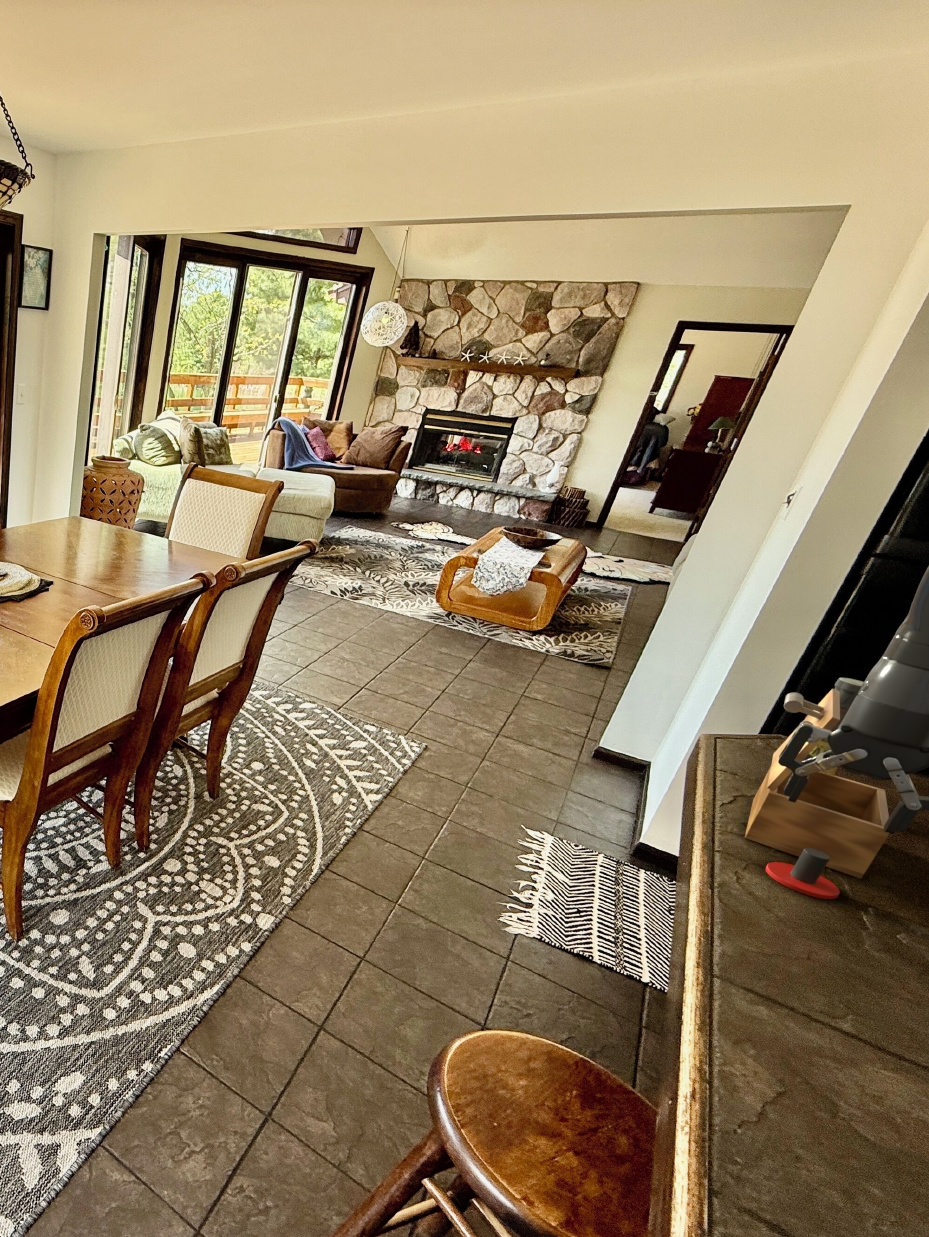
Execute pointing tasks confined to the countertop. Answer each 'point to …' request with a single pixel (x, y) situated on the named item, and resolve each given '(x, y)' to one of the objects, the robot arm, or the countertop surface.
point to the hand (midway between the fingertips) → (837, 814)
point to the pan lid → (805, 874)
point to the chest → (823, 820)
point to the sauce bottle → (847, 695)
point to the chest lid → (820, 716)
